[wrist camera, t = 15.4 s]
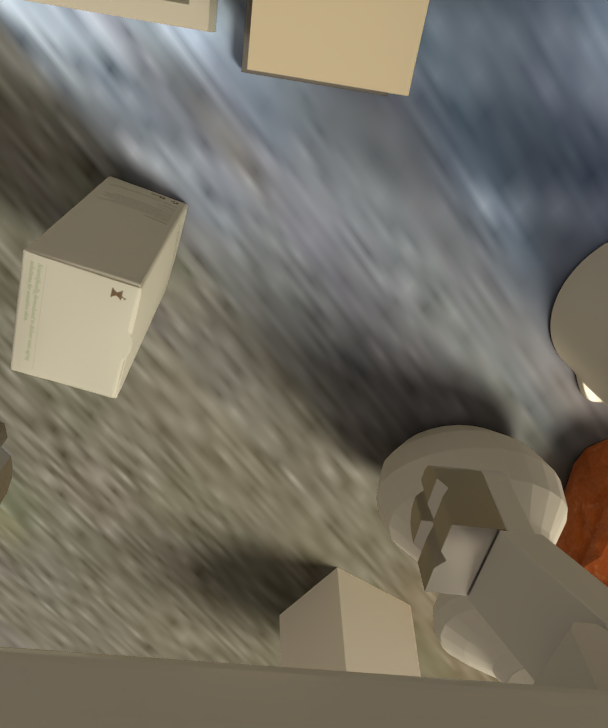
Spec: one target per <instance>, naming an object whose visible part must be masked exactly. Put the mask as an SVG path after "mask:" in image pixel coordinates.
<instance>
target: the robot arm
mask: <svg viewBox="0 0 608 728" xmlns="http://www.w3.org/2000/svg"><path fill="white" fill-rule="evenodd" d="M550 328H551V337H552V341H553V345H554V347H555V349H556V351H557V353H558V355H559V356H560V357H561V359H562V360H563V361H564V362H565V363H566V364H567V365H568V366H569V367H570V368H571V369H572V370H573V371H574V373H575V374H576V377H577V382H578V386H579V389H580V391H581V393H582V394H583V395H584V396H585V397H586V398H587V399H588V400H589V401H592V402H604V403H605V404H606V405H607V406H608V242H607V243H606V244H604V245H602V246H601V247H599V248H598V249H597V250H595V251H594V252H593V253H591V254H590V255H589V256H588V257H587V258H585V259H584V260H583V261H582V262H581V263H580V264H579V265H578V266H577V267H576V269H575V270H574V271H573V272H572V273H571V275H570V276H569V277H568V279H567V280H566V281H565V283H564V285H563V286H562V288H561V290H560V292H559V294H558V296H557V298H556V301H555V303H554V307H553V310H552V315H551V324H550ZM6 439H7V433H6V428H5V424H4V423H3V422H1V421H0V503H1V502H2V500H3V498H4V497H5V495H6V494H7V491H8V488H9V485H10V482H11V478H12V460H11V455H10V454H9V453H8V452H7V451H6V450H5V449H4V448H3V447H2V444H3V443H4V442H5V440H6ZM421 482H422V485H423V489H424V490H423V491H422V492H420V493H419V494H418V495H416V496H415V499H414V502H413V506H412V510H411V520H410V524H411V534H412V539H413V543H414V544H415V545H416V546H417V547H418V548H419V549H420V550H421V551H422V552H421V554H420V557H419V560H418V565H419V569H420V573H421V578H422V582H423V586H424V590H425V591H426V592H434V593H443V594H452V595H461V596H468V600H469V601H470V602H471V603H472V605H473V606H474V607H475V608H476V610H477V611H478V612H479V613H480V614H481V616H482V617H483V618H484V619H485V621H486V622H487V623H488V624H489V626H490V627H491V628H492V629H493V630H494V632H495V633H496V634H497V635H498V637H499V638H500V639H501V640H502V642H503V643H504V644H505V645H506V646H507V648H508V649H509V650H510V651H511V653H512V654H513V655H514V656H515V658H516V659H517V660H518V661H519V662H520V664H521V665H522V666H523V667H524V669H525V670H526V671H527V672H528V674H529V675H530V676H531V677H532V678H533V680H534V681H535V682H534V684H533V685H531V684H517V683H503V682H489V681H475V680H462V679H448V678H434V677H420V676H406V675H391V674H377V673H363V672H349V671H334V670H320V669H306V668H292V667H277V666H263V665H249V664H235V663H221V662H207V661H193V660H179V659H165V658H151V657H137V656H123V655H109V654H95V653H82V652H68V651H54V650H40V649H26V648H12V647H0V728H608V587H607V586H606V585H605V584H603V583H602V582H601V581H600V580H598V579H597V578H596V577H595V576H593V575H592V574H591V573H590V572H588V571H587V570H586V569H585V568H583V567H582V566H581V565H580V564H578V563H577V562H576V561H575V560H573V559H572V558H571V557H570V556H568V555H567V554H566V553H565V552H564V551H562V550H561V549H560V548H559V547H557V546H556V545H555V544H554V543H552V542H551V541H550V540H549V539H547V538H546V537H545V536H544V535H541V534H535V533H534V531H533V529H532V526H531V524H530V522H529V520H528V518H527V516H526V514H525V512H524V510H523V508H522V506H521V504H520V502H519V500H518V498H517V496H516V494H515V492H514V490H513V488H512V486H511V484H510V482H509V480H508V478H507V476H506V474H504V473H503V472H502V471H491V470H479V469H477V470H473V469H463V468H453V467H443V466H433V465H428V466H427V468H426V469H425V470H424V473H423V476H422V479H421Z"/></svg>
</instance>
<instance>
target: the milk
mask: <svg viewBox="0 0 608 728" xmlns="http://www.w3.org/2000/svg"><path fill="white" fill-rule="evenodd" d="M279 617H280V654H281V667H292V668H306V669H320V670H334V671H349V672H363V673H377V674H391V675H406V676H420V668H419V661H418V654H417V647H416V640H415V633H414V626H413V619H412V612H411V605H409V604H407V603H405V602H403V601H401V600H399V599H397V598H395V597H393V596H391V595H389V594H388V593H386V592H384V591H382V590H380V589H378V588H376V587H374V586H372V585H370V584H368V583H366V582H364V581H363V580H361V579H359V578H357V577H355V576H353V575H351V574H349V573H347V572H345V571H343V570H341V569H339V568H338V567H337V568H336V569H335V570H333V571H332V572H331V573H330V574H329V575H327V576H326V577H325V578H324V579H323V580H321V581H320V582H319V583H318V584H316V585H315V586H314V587H313V588H312V589H310V590H309V591H308V592H307V593H306V594H304V595H303V596H302V597H301V598H300V599H298V600H297V601H296V602H295V603H293V604H292V605H291V606H290V607H289V608H287V609H286V610H285V611H284V612H283V613H281V614H280V615H279ZM420 677H421V676H420Z"/></svg>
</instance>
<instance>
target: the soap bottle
mask: <svg viewBox="0 0 608 728" xmlns="http://www.w3.org/2000/svg"><path fill="white" fill-rule="evenodd" d="M428 465H433V466H443V467H453V468H463V469H473V470H477V469H479V470H491V471H502V472H503V473H504V474H506V476H507V478H508V480H509V482H510V484H511V486H512V488H513V490H514V492H515V494H516V496H517V498H518V500H519V502H520V504H521V506H522V508H523V510H524V512H525V514H526V516H527V518H528V520H529V522H530V524H531V526H532V529H533V531H534V533H535V534H541V535H544V536H545V537H546V538H547V539H549V540H550V541H551V542H552V543H554V544H555V545H556V543H557V541H558V539H559V537H560V534H561V532H562V530H563V528H564V526H565V524H566V521H567V512H568V507H567V503H566V499H565V496H564V492H563V488H562V484H561V480H560V479H559V477H558V476H557V474H556V472H555V471H554V470H553V469H552V468H551V467H550V466H549V465H548V464H547V463H546V462H545V461H544V460H543V459H542V458H541V457H540V456H539V455H538V454H537V453H536V452H534V451H533V450H532V449H531V448H530V447H528V446H527V445H525V444H524V443H522V442H520V441H518V440H516V439H513V438H511V437H509V436H506V435H504V434H501V433H497V432H494V431H491V430H488V429H485V428H481V427H476V426H469V425H451V426H442V427H438V428H433V429H429V430H426V431H423V432H420V433H418V434H416V435H414V436H413V437H411V438H409V439H408V440H406V441H405V442H404V443H403V444H402V445H400V446H399V447H398V448H397V449H396V450H394V451H393V452H392V453H391V454H390V455H389V456H388V457H387V459H386V460H385V461H384V463H383V467H382V470H381V474H380V480H379V485H378V491H377V497H376V499H377V506H378V512H379V514H380V516H381V518H382V520H383V522H384V524H385V527H386V529H387V531H388V533H389V535H390V537H391V538H392V540H393V541H394V542H395V543H396V544H397V545H398V546H399V547H400V548H401V549H402V550H404V551H405V552H406V553H407V554H409V555H410V556H411V557H412V558H413V559H415V560H416V561H417V562H418V560H419V557H420V554H421V552H422V551H421V550H420V549H419V548H418V547H417V546H416V545H415V544H414V543H413V539H412V534H411V524H410V520H411V510H412V506H413V502H414V499H415V496H416V495H418V494H419V493H420V492H422V491H423V490H424V489H423V485H422V482H421V479H422V476H423V473H424V470H425V469H426V468H427V466H428ZM433 617H434V632H435V634H436V636H437V638H438V640H439V642H440V644H441V646H442V647H443V648H444V649H445V651H446V652H447V653H448V654H450V655H452V656H453V657H455V658H457V659H459V660H460V661H462V662H464V663H465V664H467V665H469V666H471V667H473V668H475V669H477V670H480V671H482V672H484V673H486V674H488V675H491V676H493V677H495V678H497V679H498V680H499V681H500V682H503V683H517V684H531V685H533V684H534V682H535V681H534V680H533V678H532V677H531V676H530V675H529V674H528V672H527V671H526V670H525V669H524V667H523V666H522V665H521V664H520V662H519V661H518V660H517V659H516V658H515V656H514V655H513V654H512V653H511V651H510V650H509V649H508V648H507V646H506V645H505V644H504V643H503V642H502V640H501V639H500V638H499V637H498V635H497V634H496V633H495V632H494V630H493V629H492V628H491V627H490V626H489V624H488V623H487V622H486V621H485V619H484V618H483V617H482V616H481V614H480V613H479V612H478V611H477V610H476V608H475V607H474V606H473V605H472V603H471V602H470V601H469V600H468V596H461V595H452V594H443V593H440V594H439V596H438V597H437V600H436V602H435V605H434V607H433Z"/></svg>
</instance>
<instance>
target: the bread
mask: <svg viewBox="0 0 608 728" xmlns="http://www.w3.org/2000/svg"><path fill="white" fill-rule="evenodd" d="M564 496H565V499H566V503H567V507H568V512H567V521H566V524H565V526H564V528H563V530H562V532H561V534H560V537H559V539H558V541H557V543H556V546H557V547H559V548H560V549H561V550H562V551H564V552H565V553H566V554H567V555H568V556H570V557H571V558H572V559H573V560H575V561H576V562H577V563H578V564H580V565H581V566H582V567H583V568H585V569H586V570H587V571H588V572H590V573H591V574H592V575H593V576H595V577H596V578H597V579H598V580H600V581H601V582H602V583H603V584H605V585H606V586H607V587H608V439H606V440H604V441H601V442H599V443H597V444H594V445H592V446H590V447H588V448H586V449H585V450H584V452H583V453H582V454H581V455H580V457H579V458H578V459H577V460H576V462H575V463H574V465H573V468H572V471H571V474H570V477H569V480H568V482H567V485H566V488H565V491H564Z"/></svg>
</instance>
